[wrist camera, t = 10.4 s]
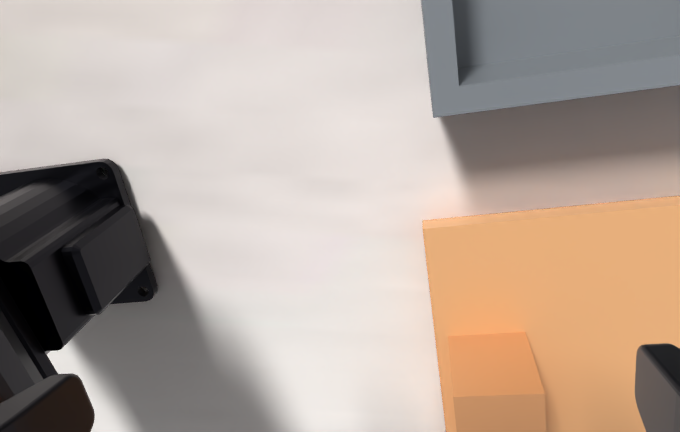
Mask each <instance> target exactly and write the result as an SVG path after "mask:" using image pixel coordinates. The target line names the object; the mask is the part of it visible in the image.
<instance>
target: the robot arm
mask: <svg viewBox="0 0 680 432" xmlns="http://www.w3.org/2000/svg"><path fill="white" fill-rule="evenodd" d="M102 168H105V169H106V170H107V172H108V176H106V175H104V174H103V172H102ZM142 287H145V288H147V290H148V292H146V291H144V290H143V288H142ZM157 290H158V288H157V284H156V281H155V278H154V275H153V272H152V269H151V265H150V257H149V254H148V251H147V248H146V245H145V242H144V239H143V236H142V233H141V229H140V226H139V223H138V220H137V217H136V214H135V211H134V209H133V208H132V207H131V205H130V202H129V199H128V196H127V193H126V190H125V187H124V184H123V181H122V178H121V175H120V171H119V169H118V167H117V165H116V164H115V163H114V162H113V161H111V160H109V159H98V160H91V161H83V162H76V163H68V164H61V165H53V166H46V167H38V168H31V169H23V170H16V171H8V172H1V173H0V432H90V431H91V429H92V426H93V423H94V409H93V407H92V404H91V402H90V400H89V397H88V395H87V392H86V390H85V388H84V385H83V383H82V381H81V379H80V378H79V377H78V376H77V375H75V374H58V373H57V371H56V370H55V368H54V366H53V365H52V363H51V361H50V360H49V358H48V356H47V354H48V353H49V352H50V351H54V350H60V349H62V348H63V347H64V346H65V345H66V344H67V343H68V342H69V341H70V340H71V339H72V338H73V337H74V336H75V335H76V334H77V333H78V332H79V331H80V330H81V329H82V328H83V327H84V326H85V325H86V323H87V322H88V321H89V320H90V319H91V318H92V317H93V316H94V315H98V314H100V313H102V312H103V311H104V309H105V308H106V307H107V306H108V305H109V304H117V303H130V302H143V301H149V300H151V299H152V298H153V297H154V296H155V294H156V293H157ZM635 399H636V404H637V408H638V411H639V413H640V416H641V419H642V422H643V424H644V427H645V430H646V432H680V348H678V347H676V346H675V345H672V344H669V343H660V344H643V345H641V346H640V347H639V348H638V350H637V353H636V371H635Z"/></svg>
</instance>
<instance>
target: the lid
mask: <svg viewBox="0 0 680 432" xmlns="http://www.w3.org/2000/svg"><path fill="white" fill-rule="evenodd" d="M423 236H424V245H425V253H426V262H427V271H428V279H429V288H430V297H431V305H432V314H433V323H434V331H435V340H436V348H437V357H438V366H439V374H440V383H441V392H442V400H443V409H444V418H445V426H446V432H646V430H645V427H644V424H643V422H642V419H641V416H640V413H639V411H638V408H637V404H636V399H635V371H636V353H637V350H638V348H639V347H640V346H641V345H643V344H660V343H669V344H672V345H675V346H676V347H678V348H680V196H671V197H661V198H650V199H640V200H630V201H619V202H609V203H598V204H588V205H578V206H567V207H557V208H547V209H536V210H526V211H516V212H505V213H495V214H485V215H474V216H464V217H454V218H443V219H433V220H423Z"/></svg>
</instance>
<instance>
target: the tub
mask: <svg viewBox="0 0 680 432" xmlns="http://www.w3.org/2000/svg"><path fill="white" fill-rule="evenodd" d="M421 5H422V14H423V24H424V34H425V44H426V54H427V64H428V74H429V84H430V94H431V102H432V111H433V118H435V117H442V116H450V115H457V114H465V113H473V112H480V111H488V110H495V109H503V108H510V107H518V106H525V105H533V104H541V103H548V102H556V101H563V100H571V99H578V98H586V97H593V96H601V95H609V94H616V93H624V92H631V91H639V90H646V89H654V88H662V87H669V86H677V85H680V0H421Z"/></svg>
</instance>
